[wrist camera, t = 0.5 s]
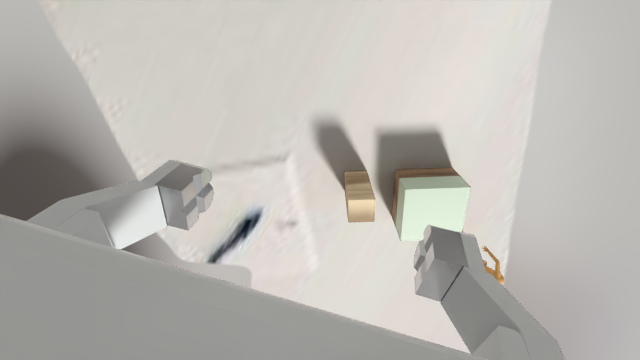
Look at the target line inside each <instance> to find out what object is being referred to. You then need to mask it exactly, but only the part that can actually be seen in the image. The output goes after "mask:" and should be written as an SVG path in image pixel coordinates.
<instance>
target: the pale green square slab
mask: <svg viewBox="0 0 640 360" xmlns="http://www.w3.org/2000/svg"><path fill="white" fill-rule="evenodd" d="M470 190H471V187H470V186H469V184H468V183H467V182H466V181H465V180H464V179H463V178H462V177H461V176H442V177H415V178H400V179H399V191H398V203H397V216H396V230H397V232H398V235H399V238H400V241H417V240H423V239H424V235H423V232H424V230H425V228H426V227H427V225H432V226H436V227H440V228H444V229H448V230H453V231H457V232H462V228H463V224H464V219H465V214H466V209H467V205H468V200H469V195H470Z"/></svg>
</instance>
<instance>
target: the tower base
mask: <svg viewBox="0 0 640 360" xmlns="http://www.w3.org/2000/svg"><path fill="white" fill-rule="evenodd" d="M442 176H460V175H459V174H458V173H457V172H456V171H455V170H454V169H453V168H425V169H395V179H394V192H393V205H392V219H393V221H394V224H395V227H396V216H397V203H398V191H399V179H400V178H415V177H442Z"/></svg>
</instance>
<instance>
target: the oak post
mask: <svg viewBox="0 0 640 360" xmlns="http://www.w3.org/2000/svg"><path fill="white" fill-rule="evenodd" d="M345 197H346V206H347V215H348V222H374V217H375V197H374V193H373V190H372V187H371V183H370V180H369V176H368V173H367V171H347V172H345Z"/></svg>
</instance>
